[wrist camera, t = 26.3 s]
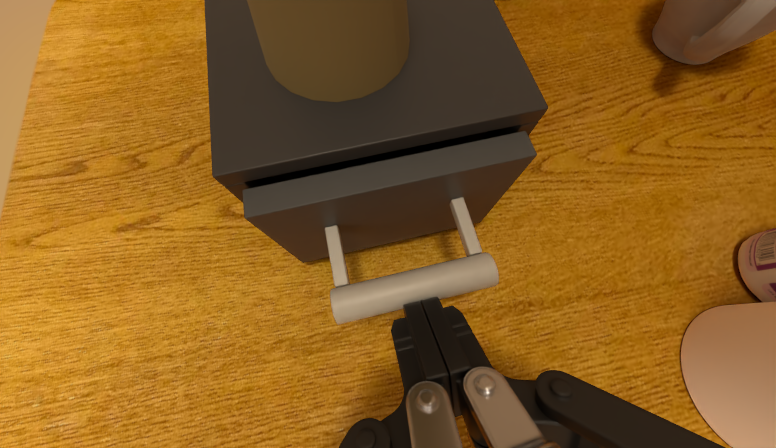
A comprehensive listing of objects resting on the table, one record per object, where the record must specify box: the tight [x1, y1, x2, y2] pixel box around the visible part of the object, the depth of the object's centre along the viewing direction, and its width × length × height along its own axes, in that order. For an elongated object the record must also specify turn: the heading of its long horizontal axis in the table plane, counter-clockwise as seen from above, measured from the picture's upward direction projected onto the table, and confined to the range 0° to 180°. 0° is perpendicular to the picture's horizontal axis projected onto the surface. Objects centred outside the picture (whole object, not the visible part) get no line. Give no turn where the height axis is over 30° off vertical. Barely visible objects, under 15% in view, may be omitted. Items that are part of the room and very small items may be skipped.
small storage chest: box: [205, 0, 548, 202], centre depth 18 cm, size 15×13×10 cm
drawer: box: [242, 131, 537, 324], centre depth 16 cm, size 18×11×8 cm, turn 13°
